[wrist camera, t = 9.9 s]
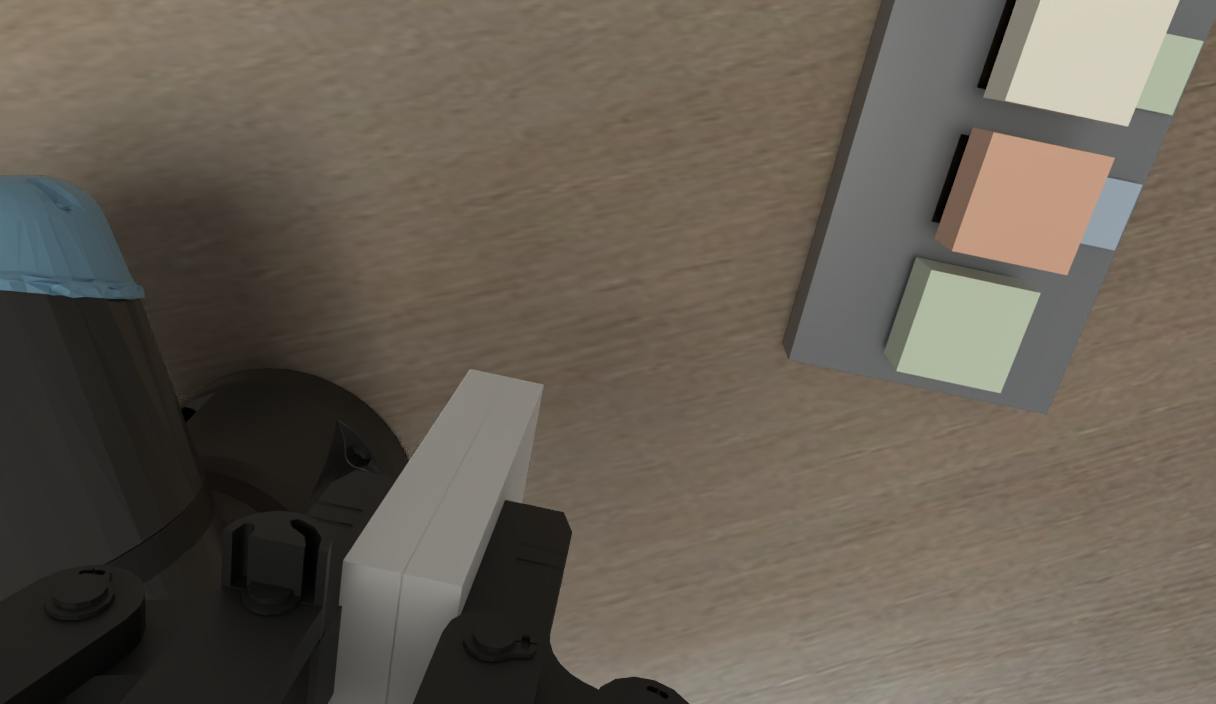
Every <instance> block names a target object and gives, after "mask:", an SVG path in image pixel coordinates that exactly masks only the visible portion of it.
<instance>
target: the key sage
mask: <svg viewBox="0 0 1216 704" xmlns="http://www.w3.org/2000/svg"><path fill="white" fill-rule="evenodd" d="M1040 294H1041V293H1040V292H1038V291H1037V290H1035V289H1034V288H1032V287H1031V286H1029V285H1028V284H1026V283H1025V282H1023V281H1022V280H1020V279H1017V278H1013V277H1008V276H1003V275H999V274H994V273H989V272H984V271H980V270H975V269H970V268H966V267H961V266H956V265H951V264H947V263H942V262H937V261H933V260H928V259H923V258H918V257H916V259H915V262H914V265H913V268H912V271H911V274H910V277H909V280H908V283H907V286H906V289H905V292H904V295H903V298H902V301H901V304H900V306H899V309H898V312H897V315H896V318H895V321H894V324H893V327H892V330H891V333H890V336H889V339H888V342H887V345H886V348H885V351H884V354H885V356H886V357H887V358H888V360H889V361H890V363H891V364H892V366H893V367H894V369H895V370H896V371H898V372H903V373H908V374H912V375H917V376H922V377H926V378H931V379H936V380H940V381H945V382H950V383H955V384H959V385H964V386H969V387H973V388H978V389H983V390H987V391H992V392H997V393H1001V391H1002V389H1003V386H1004V384H1005V381H1006V379H1007V376H1008V374H1009V371H1010V369H1011V366H1012V364H1013V361H1014V359H1015V356H1016V354H1017V351H1018V349H1019V346H1020V344H1021V341H1022V339H1023V336H1024V334H1025V331H1026V329H1027V326H1028V324H1029V321H1030V319H1031V316H1032V314H1033V311H1034V309H1035V306H1036V304H1037V301H1038V299H1039V296H1040Z"/></svg>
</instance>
